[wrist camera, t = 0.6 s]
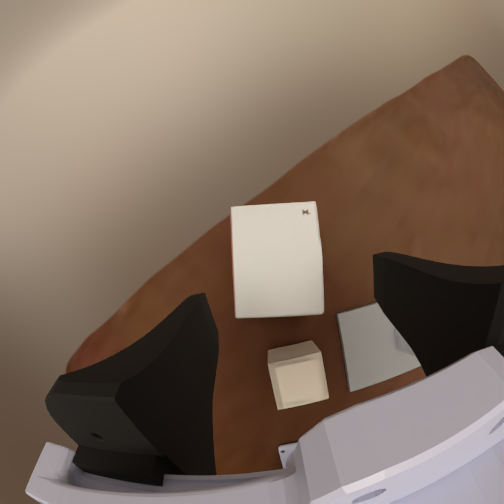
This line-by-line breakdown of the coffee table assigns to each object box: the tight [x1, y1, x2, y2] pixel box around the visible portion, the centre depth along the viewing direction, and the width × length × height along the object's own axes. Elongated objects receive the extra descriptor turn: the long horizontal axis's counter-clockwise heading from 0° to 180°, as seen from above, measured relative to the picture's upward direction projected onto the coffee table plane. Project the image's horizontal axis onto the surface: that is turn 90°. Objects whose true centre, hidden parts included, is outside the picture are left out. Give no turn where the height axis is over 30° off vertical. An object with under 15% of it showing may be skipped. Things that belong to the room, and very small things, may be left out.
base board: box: [336, 302, 421, 392], centre depth 29 cm, size 10×16×1 cm, turn 102°
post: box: [394, 328, 416, 357], centre depth 26 cm, size 3×3×5 cm
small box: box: [230, 201, 324, 318], centre depth 25 cm, size 8×6×13 cm
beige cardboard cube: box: [268, 340, 329, 410], centre depth 27 cm, size 5×5×6 cm
